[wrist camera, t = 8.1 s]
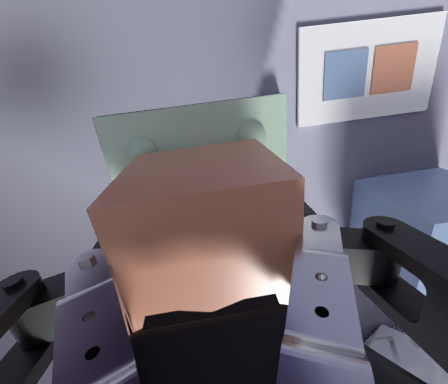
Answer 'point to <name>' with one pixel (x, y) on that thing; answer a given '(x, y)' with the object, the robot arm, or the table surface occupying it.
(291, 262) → the brick terracotta
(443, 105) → the table surface
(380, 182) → the brick blue
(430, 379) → the die
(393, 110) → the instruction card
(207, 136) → the baseplate
